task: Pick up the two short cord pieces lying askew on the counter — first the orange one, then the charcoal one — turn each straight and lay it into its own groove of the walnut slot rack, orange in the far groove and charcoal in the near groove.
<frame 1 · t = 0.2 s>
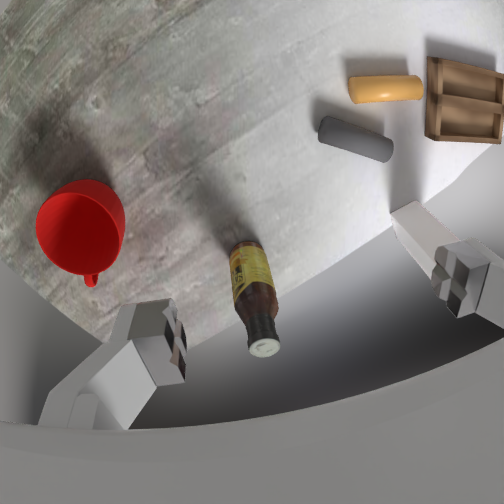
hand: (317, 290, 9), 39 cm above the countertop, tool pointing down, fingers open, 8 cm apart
charcoal rod: (351, 136, 45), on the countertop
ceramic cup: (97, 214, 47), on the countertop
milk: (405, 218, 55), on the countertop
slot rack: (464, 101, 42), on the countertop
sauce bottle: (246, 255, 55), on the countertop
orange rod: (380, 87, 41), on the countertop
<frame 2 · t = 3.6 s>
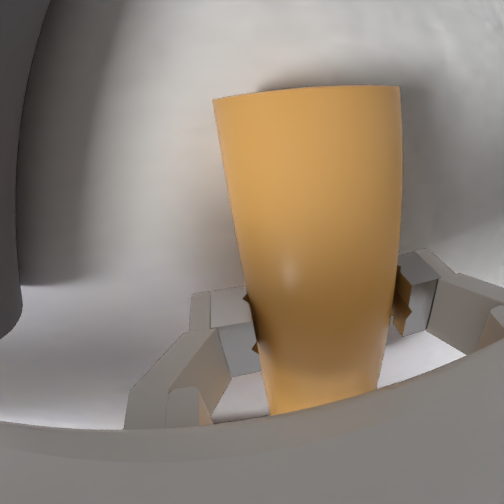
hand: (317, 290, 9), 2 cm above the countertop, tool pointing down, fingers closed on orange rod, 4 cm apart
charcoal rod: (18, 146, 7), point 1 cm above the countertop, tilted 57°
orange rod: (281, 269, 10), on the countertop, tilted 23°, touching gripper
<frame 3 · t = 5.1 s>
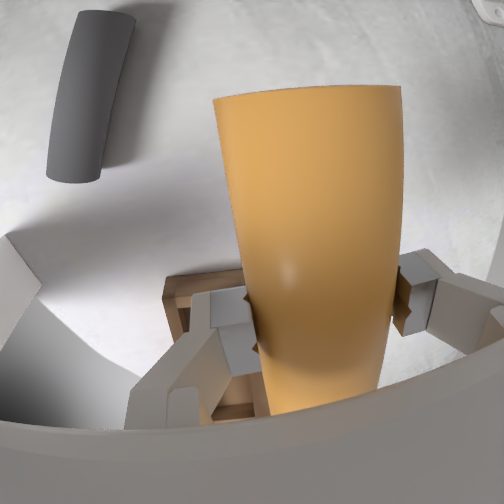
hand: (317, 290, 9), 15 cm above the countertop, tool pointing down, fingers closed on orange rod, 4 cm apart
charcoal rod: (111, 98, 17), point 2 cm above the countertop, tilted 97°
milk: (8, 271, 24), on the countertop
slot rack: (257, 347, 30), on the countertop
orange rod: (281, 269, 10), point 14 cm above the countertop, tilted 23°, touching gripper
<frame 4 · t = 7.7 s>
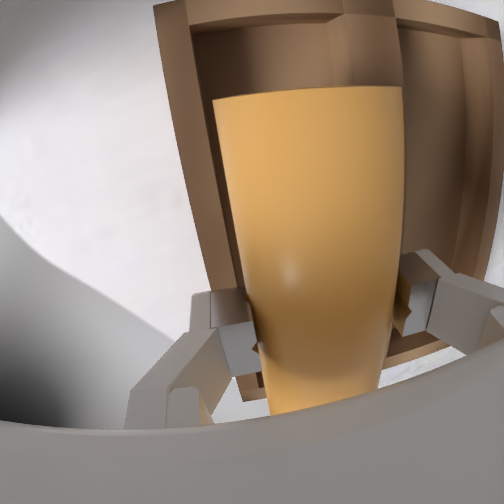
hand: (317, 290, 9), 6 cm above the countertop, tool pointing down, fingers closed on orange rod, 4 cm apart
slot rack: (354, 200, 14), on the countertop
orange rod: (281, 270, 10), point 5 cm above the countertop, tilted 24°, touching gripper
when the fingers open (5 cm above the countertop, at t = 8.3 s): orange rod drops 3 cm, resting on slot rack.
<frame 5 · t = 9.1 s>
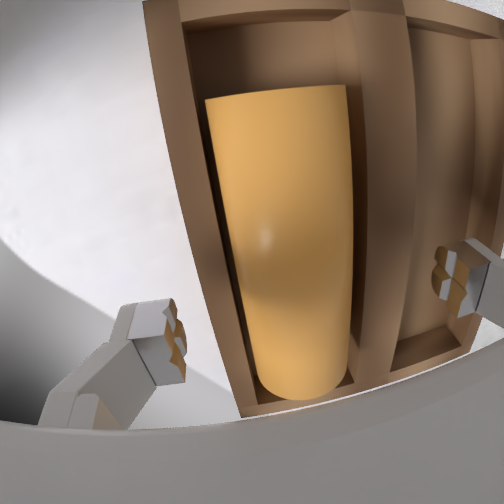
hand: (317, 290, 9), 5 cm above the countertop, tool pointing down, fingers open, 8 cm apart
slot rack: (359, 209, 14), on the countertop
orange rod: (268, 235, 13), point 1 cm above the countertop, tilted 16°, touching slot rack
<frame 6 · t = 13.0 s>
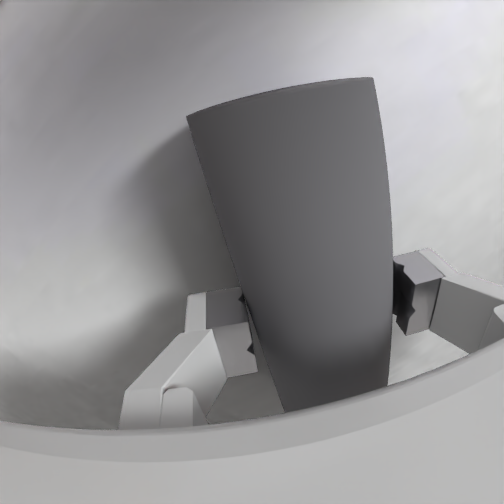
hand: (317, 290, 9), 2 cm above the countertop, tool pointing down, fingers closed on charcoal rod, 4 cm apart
charcoal rod: (303, 262, 11), on the countertop, touching gripper
when the fingers open (5 cm above the countertop, at t = 18.0 s): charcoal rod drops 2 cm, resting on slot rack.
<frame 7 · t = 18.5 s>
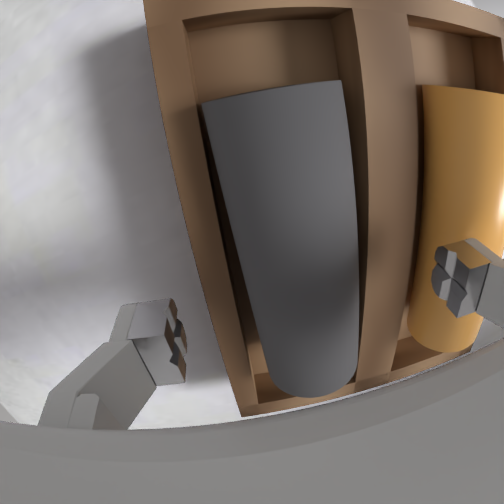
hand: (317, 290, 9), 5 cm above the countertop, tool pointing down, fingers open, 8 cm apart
charcoal rod: (287, 230, 13), point 1 cm above the countertop, touching slot rack
slot rack: (360, 208, 14), on the countertop
orange rod: (447, 205, 13), point 1 cm above the countertop, tilted 15°, touching slot rack
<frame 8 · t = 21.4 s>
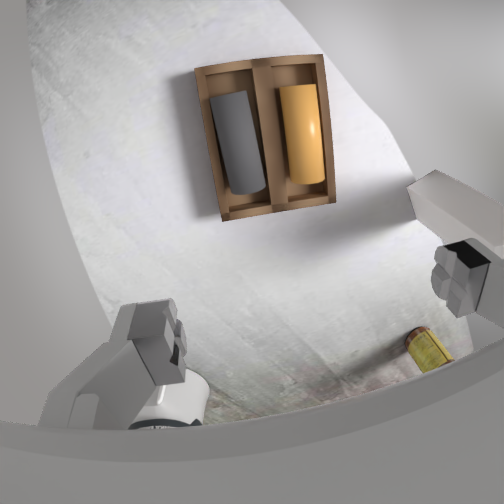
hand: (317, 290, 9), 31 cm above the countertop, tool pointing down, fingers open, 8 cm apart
charcoal rod: (238, 139, 36), point 1 cm above the countertop, touching slot rack
milk: (425, 194, 43), on the countertop
slot rack: (267, 133, 36), on the countertop
sauce bottle: (417, 335, 57), on the countertop
orange rod: (304, 130, 36), point 1 cm above the countertop, tilted 19°, touching slot rack
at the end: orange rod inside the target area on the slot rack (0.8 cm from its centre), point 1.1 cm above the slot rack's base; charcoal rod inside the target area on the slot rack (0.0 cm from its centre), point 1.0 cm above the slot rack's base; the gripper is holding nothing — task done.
